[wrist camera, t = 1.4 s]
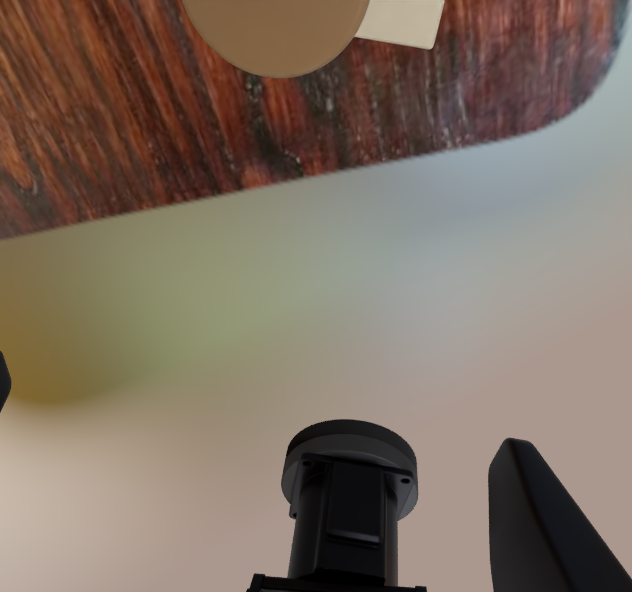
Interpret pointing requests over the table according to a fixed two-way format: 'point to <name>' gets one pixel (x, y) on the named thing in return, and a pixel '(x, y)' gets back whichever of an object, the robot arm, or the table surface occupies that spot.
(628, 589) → the robot arm
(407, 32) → the stick stand
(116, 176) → the table surface
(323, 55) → the stirring stick
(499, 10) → the table surface
